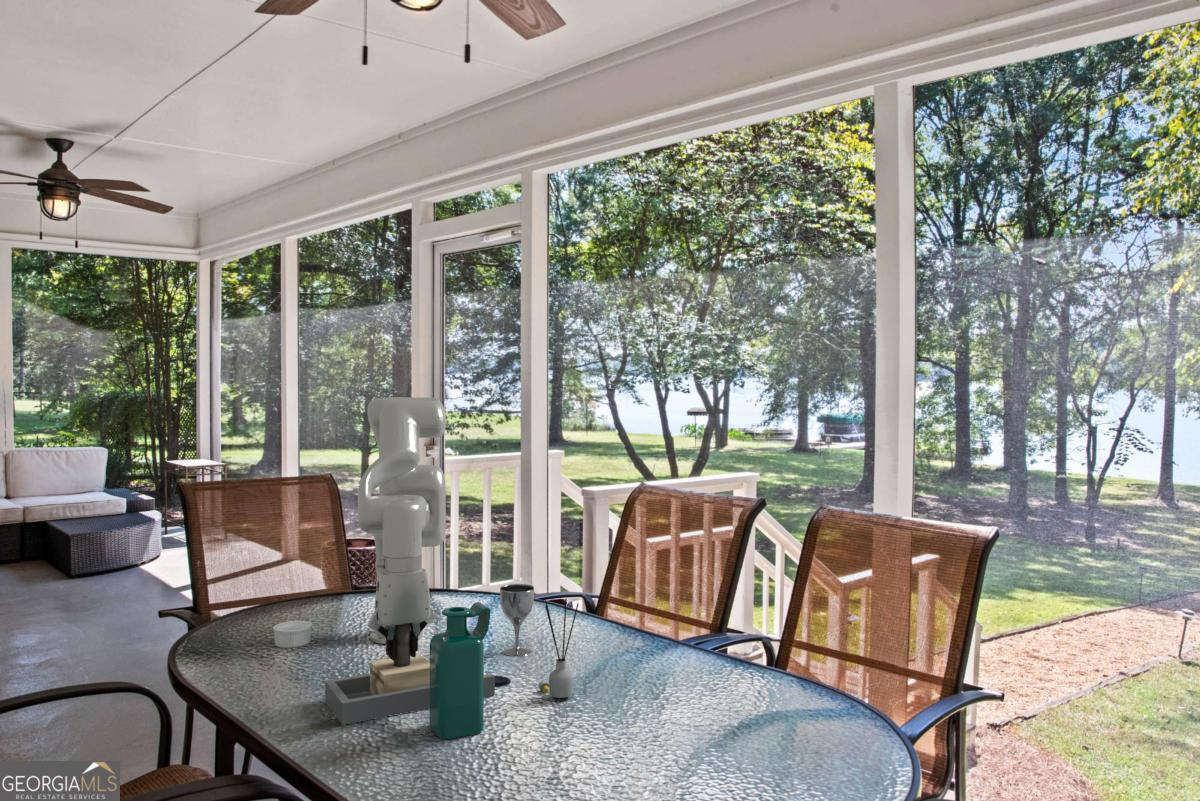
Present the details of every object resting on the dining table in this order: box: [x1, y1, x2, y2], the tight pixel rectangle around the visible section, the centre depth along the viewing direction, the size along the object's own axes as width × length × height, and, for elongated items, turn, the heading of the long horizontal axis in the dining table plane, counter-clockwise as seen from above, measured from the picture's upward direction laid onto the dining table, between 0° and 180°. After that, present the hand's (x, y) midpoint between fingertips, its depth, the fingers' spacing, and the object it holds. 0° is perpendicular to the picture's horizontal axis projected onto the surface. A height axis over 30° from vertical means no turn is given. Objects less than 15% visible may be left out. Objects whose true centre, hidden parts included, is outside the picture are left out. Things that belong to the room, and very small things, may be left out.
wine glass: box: [499, 583, 535, 657], centre depth 199 cm, size 8×8×15 cm
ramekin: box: [272, 620, 313, 649], centre depth 205 cm, size 9×9×4 cm
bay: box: [324, 672, 496, 726], centre depth 169 cm, size 14×30×4 cm, turn 120°
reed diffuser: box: [538, 596, 579, 699], centre depth 169 cm, size 10×7×20 cm
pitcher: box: [429, 601, 492, 740], centre depth 154 cm, size 10×8×22 cm
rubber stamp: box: [369, 623, 430, 695], centre depth 168 cm, size 10×10×14 cm
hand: (402, 656), depth 168 cm, fingers closed on rubber stamp, 3 cm apart
